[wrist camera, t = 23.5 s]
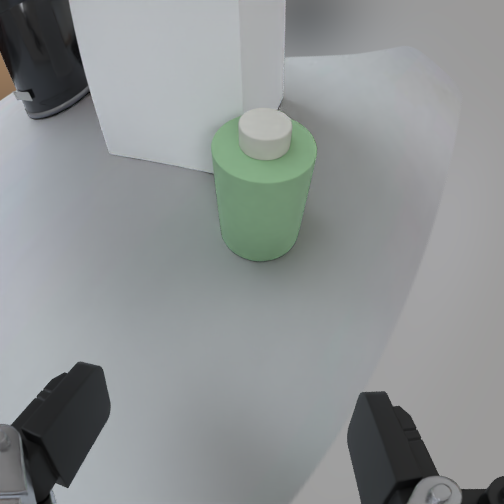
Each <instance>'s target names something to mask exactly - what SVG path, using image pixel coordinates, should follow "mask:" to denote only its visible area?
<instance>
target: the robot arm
mask: <svg viewBox="0 0 504 504" xmlns="http://www.w3.org/2000/svg"><path fill="white" fill-rule="evenodd" d="M0 53H1V55H2V57H3V60H4V62H5V65H6V67H7V69H8V72H9V74H10V76H11V78H12V81H13V83H14V85H15V87H16V89H17V92H13V93H14V95H15V97H16V99H17V100H22V102H23V104H24V106H25V110H26V112H27V114H28V116H29V117H31V118H36V119H37V118H44V117H48V116H51V115H54V114H56V113H58V112H60V111H62V110H64V109H66V108H68V107H70V106H71V105H73V104H74V103H76V102H77V101H79V100H80V99H81V98H82V97H84V96H85V95H86V94H87V93H88V92H89V91H90V89H89V86H88V82H87V78H86V74H85V71H84V67H83V63H82V59H81V55H80V51H79V47H78V42H77V38H76V33H75V29H74V24H73V19H72V15H71V10H70V4H69V0H0ZM110 408H111V405H110V399H109V394H108V390H107V385H106V381H105V376H104V371H103V369H102V367H100V366H97V365H93V364H89V363H84V362H78V363H77V364H76V365H75V366H74V367H73V368H72V369H71V370H70V371H69V372H68V373H63V374H61V375H59V376H57V377H55V378H54V379H52V380H51V381H50V382H49V383H48V384H47V385H46V386H45V388H44V390H43V391H41V392H40V393H39V394H38V395H37V398H35V399H34V400H33V401H32V402H31V403H30V404H29V405H28V406H27V408H26V409H25V410H24V411H23V412H22V413H21V414H20V415H19V417H18V418H17V419H16V420H15V421H14V422H13V424H12V425H11V426H10V425H6V424H0V504H56V500H55V496H54V493H53V491H52V488H53V486H54V484H55V483H57V484H59V485H62V486H64V487H66V488H69V486H70V484H71V482H72V480H73V479H74V477H75V475H76V473H77V472H78V470H79V468H80V466H81V465H82V463H83V461H84V459H85V458H86V456H87V454H88V452H89V451H90V449H91V447H92V445H93V444H94V442H95V440H96V439H97V437H98V435H99V433H100V432H101V430H102V428H103V427H104V425H105V423H106V422H107V420H108V418H109V415H110ZM347 442H348V448H349V452H350V456H351V460H352V465H353V469H354V473H355V478H356V482H357V486H358V491H359V495H360V499H361V504H504V476H502V477H499V478H497V479H495V480H494V481H493V482H492V483H491V484H490V486H489V487H488V488H487V489H460V487H459V486H458V485H457V483H455V482H454V481H453V480H451V479H449V478H447V477H443V476H439V474H438V472H437V470H436V468H435V465H434V463H433V461H432V459H431V457H430V455H429V453H428V451H427V448H426V446H425V444H424V442H423V441H422V440H421V436H420V434H419V432H418V430H416V426H415V424H414V422H413V420H412V418H411V416H410V415H409V414H408V413H407V412H406V411H404V410H403V409H402V408H401V407H400V406H395V407H393V406H392V404H391V401H390V399H389V397H388V395H387V393H386V392H384V391H381V392H362V393H360V395H359V397H358V400H357V403H356V406H355V409H354V412H353V415H352V418H351V421H350V424H349V428H348V434H347Z"/></svg>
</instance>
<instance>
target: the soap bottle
mask: <svg viewBox="0 0 504 504" xmlns="http://www.w3.org/2000/svg"><path fill="white" fill-rule="evenodd" d="M211 153H212V161H213V170H214V179H215V187H216V195H217V204H218V212H219V220H220V227H221V234H222V238H223V240H224V242H225V244H226V245H227V246H228V248H229V249H230V250H231V251H233V252H234V253H235V254H237V255H238V256H240V257H242V258H245V259H248V260H252V261H269V260H273V259H276V258H278V257H281V256H282V255H284V254H285V253H287V252H288V251H289V250H290V249H291V248H292V247H293V245H294V244H295V242H296V240H297V237H298V233H299V229H300V225H301V221H302V217H303V212H304V208H305V204H306V200H307V196H308V191H309V187H310V183H311V179H312V174H313V170H314V165H315V161H316V157H317V146H316V142H315V140H314V138H313V136H312V135H311V133H310V132H309V131H308V130H307V129H306V128H305V127H304V126H302V125H301V124H300V123H298V122H296V121H294V120H292V119H290V118H289V117H288V116H287V115H286V114H285V113H283V112H281V111H279V110H276V109H272V108H256V109H252V110H249V111H247V112H246V113H244V114H243V115H242V116H239V117H237V118H234V119H232V120H230V121H228V122H227V123H225V124H224V125H223V126H221V127H220V128H219V129H218V130H217V132H216V133H215V135H214V137H213V139H212V143H211Z"/></svg>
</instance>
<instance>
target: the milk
mask: <svg viewBox="0 0 504 504" xmlns="http://www.w3.org/2000/svg"><path fill="white" fill-rule="evenodd" d="M285 1H286V0H69V4H70V10H71V15H72V19H73V24H74V29H75V33H76V38H77V42H78V47H79V51H80V55H81V59H82V63H83V67H84V71H85V74H86V78H87V82H88V86H89V89H90V93H91V96H92V100H93V103H94V107H95V110H96V113H97V117H98V120H99V123H100V126H101V129H102V133H103V136H104V139H105V142H106V145H107V148H108V151H109V154H112V155H118V156H124V157H130V158H136V159H141V160H147V161H153V162H158V163H163V164H168V165H174V166H179V167H184V168H189V169H193V170H198V171H203V172H208V173H212V174H214V170H213V161H212V153H211V143H212V139H213V137H214V135H215V133H216V132H217V130H218V129H219V128H220V127H221V126H223V125H224V124H225V123H227V122H228V121H230V120H232V119H234V118H237V117H239V116H242V115H243V114H244V113H246V112H247V111H249V110H252V109H256V108H272V109H276V110H277V109H278V107H279V105H280V103H281V101H282V98H283V86H284V52H285V5H286V4H285V3H286V2H285Z"/></svg>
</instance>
